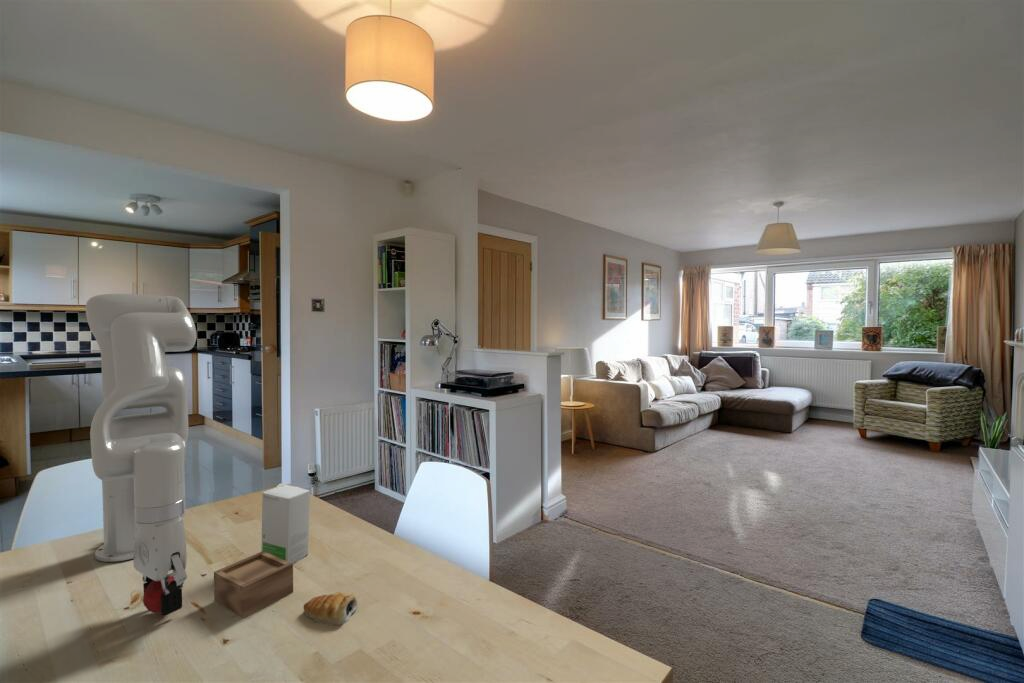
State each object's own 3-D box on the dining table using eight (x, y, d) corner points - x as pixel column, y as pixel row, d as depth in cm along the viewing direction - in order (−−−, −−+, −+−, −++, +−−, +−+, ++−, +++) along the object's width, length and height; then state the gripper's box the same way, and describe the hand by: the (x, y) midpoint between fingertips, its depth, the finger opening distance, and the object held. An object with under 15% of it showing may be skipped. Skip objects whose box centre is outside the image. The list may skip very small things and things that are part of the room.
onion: (162, 625, 87) (161, 581, 86) (135, 620, 88) (134, 577, 88) (189, 606, 92) (188, 565, 92) (164, 602, 94) (163, 561, 93)
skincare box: (260, 560, 110) (259, 492, 109) (284, 547, 116) (283, 483, 116) (288, 567, 107) (287, 498, 106) (311, 554, 113) (310, 488, 112)
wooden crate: (214, 601, 94) (213, 572, 94) (263, 577, 103) (263, 551, 102) (244, 618, 89) (243, 587, 89) (293, 592, 98) (292, 563, 97)
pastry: (295, 623, 88) (295, 602, 88) (316, 602, 95) (316, 582, 95) (343, 629, 87) (343, 607, 87) (361, 607, 93) (361, 587, 93)
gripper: (115, 507, 90) (117, 601, 91) (160, 528, 82) (163, 633, 83) (160, 494, 97) (163, 583, 98) (207, 513, 88) (209, 610, 89)
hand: (163, 605), depth 90 cm, fingers closed on onion, 5 cm apart
